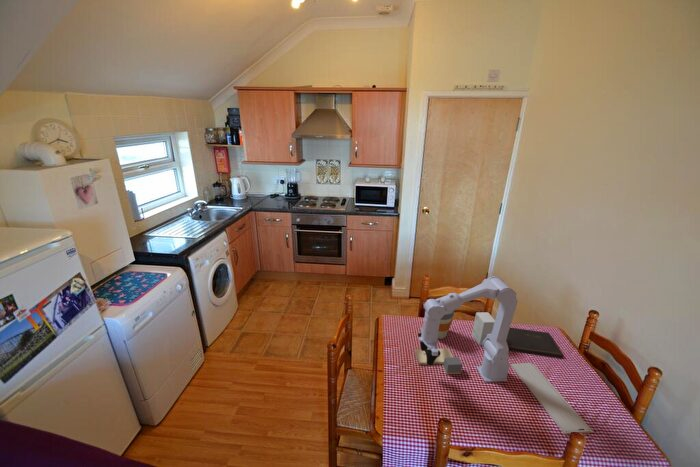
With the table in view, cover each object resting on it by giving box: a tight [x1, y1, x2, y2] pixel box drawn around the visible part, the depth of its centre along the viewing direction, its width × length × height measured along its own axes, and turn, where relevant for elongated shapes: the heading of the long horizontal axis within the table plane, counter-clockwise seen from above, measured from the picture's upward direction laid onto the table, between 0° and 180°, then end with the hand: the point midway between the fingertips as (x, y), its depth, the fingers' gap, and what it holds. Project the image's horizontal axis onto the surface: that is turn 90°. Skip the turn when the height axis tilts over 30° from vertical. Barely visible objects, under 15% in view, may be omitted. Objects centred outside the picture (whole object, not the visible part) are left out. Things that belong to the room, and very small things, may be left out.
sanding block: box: [442, 356, 463, 375], centre depth 126 cm, size 6×4×5 cm, turn 94°
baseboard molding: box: [510, 362, 598, 436], centre depth 116 cm, size 31×3×12 cm
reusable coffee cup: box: [437, 310, 455, 340], centre depth 147 cm, size 13×12×15 cm
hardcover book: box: [506, 327, 564, 359], centre depth 144 cm, size 16×23×2 cm
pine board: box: [413, 348, 454, 366], centre depth 133 cm, size 16×8×1 cm, turn 94°
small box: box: [471, 311, 495, 346], centre depth 143 cm, size 8×6×13 cm
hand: (426, 357), depth 119 cm, fingers open, 7 cm apart
